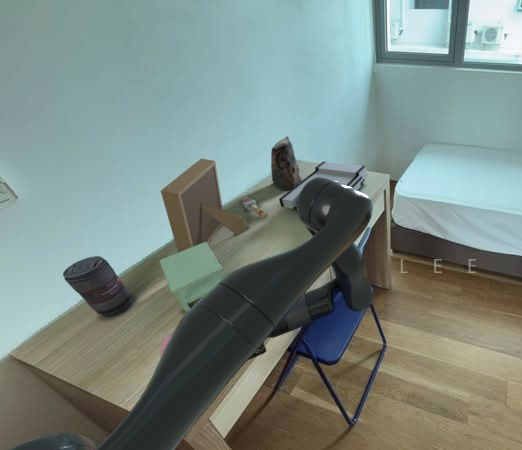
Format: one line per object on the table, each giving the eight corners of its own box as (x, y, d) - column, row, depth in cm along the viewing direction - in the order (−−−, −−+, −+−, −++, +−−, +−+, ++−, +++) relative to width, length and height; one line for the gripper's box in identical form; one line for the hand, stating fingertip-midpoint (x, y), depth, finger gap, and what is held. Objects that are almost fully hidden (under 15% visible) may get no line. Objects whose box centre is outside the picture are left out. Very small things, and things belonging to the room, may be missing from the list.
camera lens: (138, 291, 87) (107, 251, 78) (134, 311, 81) (100, 270, 72) (103, 303, 84) (66, 262, 75) (96, 324, 78) (55, 282, 69)
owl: (299, 175, 145) (289, 133, 133) (308, 185, 136) (298, 142, 124) (272, 183, 140) (259, 140, 128) (279, 194, 131) (266, 149, 119)
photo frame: (181, 261, 97) (139, 191, 83) (213, 222, 115) (183, 159, 100) (228, 258, 97) (194, 189, 83) (253, 220, 115) (229, 157, 101)
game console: (283, 214, 117) (277, 196, 112) (326, 178, 142) (323, 161, 137) (331, 223, 111) (327, 204, 106) (367, 183, 136) (365, 166, 131)
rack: (232, 288, 86) (222, 268, 82) (185, 312, 80) (170, 291, 75) (215, 261, 96) (205, 241, 92) (172, 280, 90) (159, 260, 85)
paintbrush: (238, 202, 126) (260, 220, 114) (236, 196, 125) (258, 214, 113) (247, 198, 128) (269, 216, 117) (245, 193, 127) (267, 210, 115)
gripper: (279, 283, 74) (204, 307, 69) (289, 327, 63) (201, 361, 58) (287, 303, 78) (217, 328, 73) (297, 348, 68) (216, 382, 62)
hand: (210, 343), depth 65 cm, fingers open, 8 cm apart
